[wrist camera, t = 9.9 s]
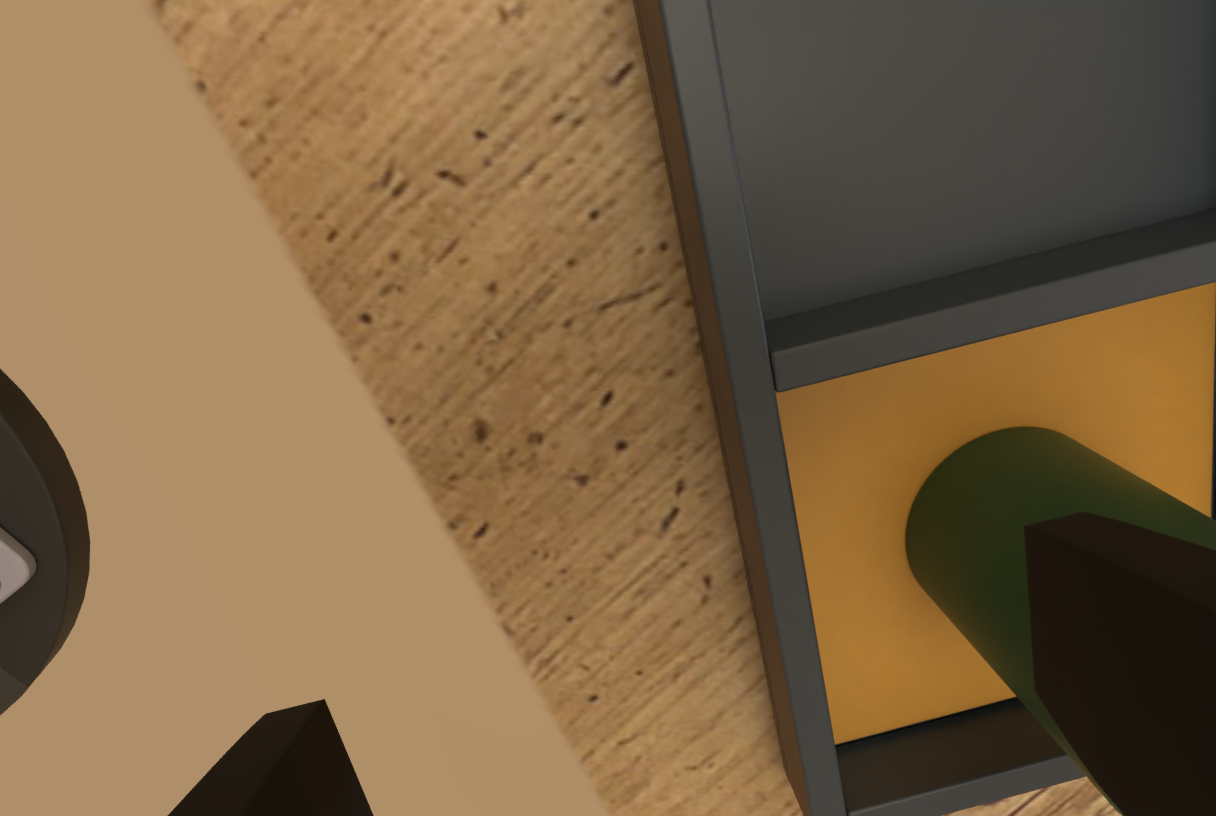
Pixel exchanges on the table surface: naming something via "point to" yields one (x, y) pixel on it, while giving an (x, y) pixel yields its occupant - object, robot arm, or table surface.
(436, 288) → the table surface
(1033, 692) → the bottle
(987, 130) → the tray
